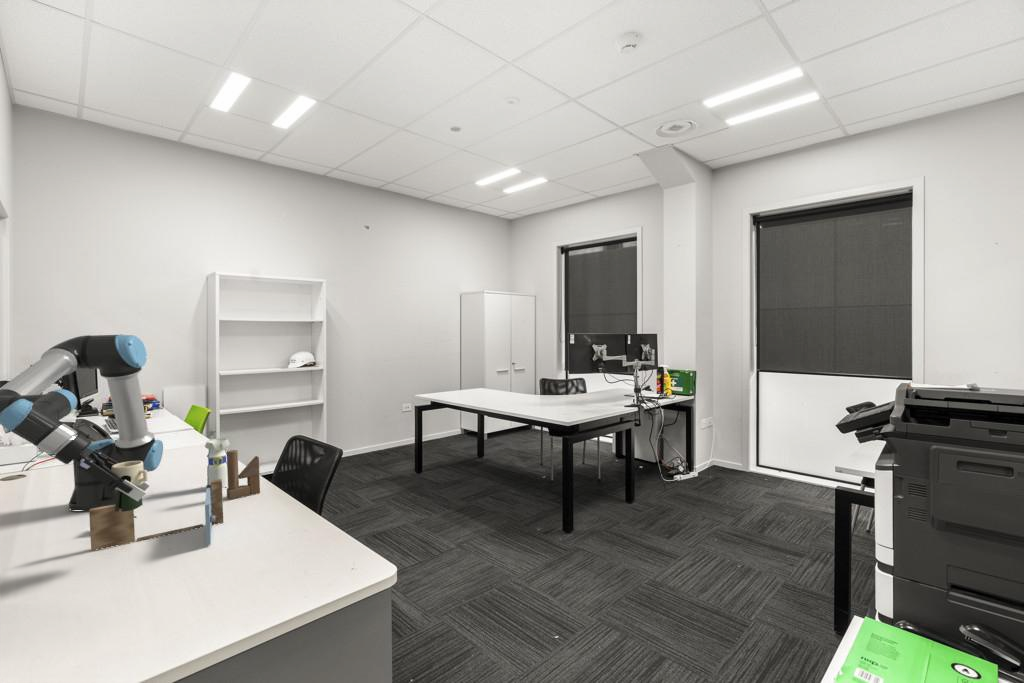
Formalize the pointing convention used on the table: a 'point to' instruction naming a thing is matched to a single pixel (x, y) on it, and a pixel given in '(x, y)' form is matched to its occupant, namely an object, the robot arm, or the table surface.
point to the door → (208, 516)
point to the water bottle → (217, 459)
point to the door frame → (120, 525)
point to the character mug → (134, 475)
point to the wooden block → (242, 476)
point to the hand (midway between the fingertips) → (144, 492)
